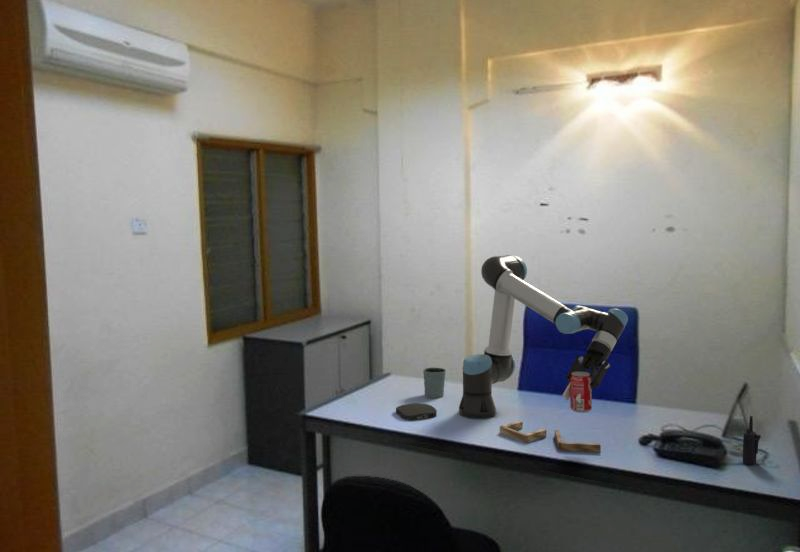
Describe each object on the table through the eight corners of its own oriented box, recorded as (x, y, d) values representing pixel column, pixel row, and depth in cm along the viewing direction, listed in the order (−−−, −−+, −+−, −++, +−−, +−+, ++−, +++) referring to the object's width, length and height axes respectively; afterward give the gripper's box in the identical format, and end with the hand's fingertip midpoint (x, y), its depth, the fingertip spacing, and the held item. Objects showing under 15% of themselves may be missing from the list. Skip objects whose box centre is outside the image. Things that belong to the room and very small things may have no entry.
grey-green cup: (418, 395, 274) (418, 369, 273) (434, 391, 281) (434, 366, 280) (435, 400, 267) (434, 373, 266) (450, 395, 274) (450, 369, 273)
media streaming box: (425, 408, 257) (425, 401, 256) (439, 417, 243) (439, 410, 243) (393, 412, 251) (393, 405, 251) (406, 422, 238) (406, 414, 238)
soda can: (592, 413, 205) (593, 376, 204) (571, 413, 206) (571, 375, 205) (590, 407, 212) (590, 371, 211) (568, 407, 213) (569, 370, 212)
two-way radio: (746, 459, 196) (748, 413, 195) (761, 462, 193) (763, 416, 192) (740, 463, 192) (742, 417, 191) (756, 467, 189) (758, 420, 188)
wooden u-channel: (519, 427, 229) (519, 420, 229) (546, 436, 219) (546, 429, 219) (499, 433, 223) (499, 426, 223) (526, 442, 213) (526, 436, 212)
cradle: (556, 436, 219) (556, 429, 219) (602, 451, 204) (602, 444, 204) (537, 442, 213) (537, 435, 213) (583, 458, 198) (583, 451, 198)
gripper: (627, 356, 210) (598, 412, 202) (584, 349, 225) (555, 400, 216) (619, 343, 207) (588, 399, 198) (576, 336, 221) (545, 388, 213)
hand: (571, 399), depth 207 cm, fingers closed on soda can, 5 cm apart
